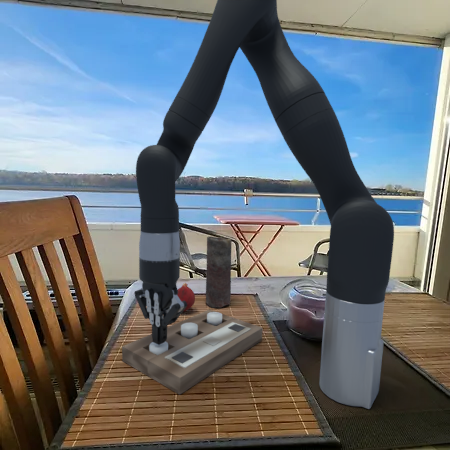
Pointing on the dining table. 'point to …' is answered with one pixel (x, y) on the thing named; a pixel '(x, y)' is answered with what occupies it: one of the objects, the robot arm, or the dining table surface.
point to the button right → (214, 318)
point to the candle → (218, 272)
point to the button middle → (189, 330)
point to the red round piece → (186, 296)
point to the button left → (158, 348)
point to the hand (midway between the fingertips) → (159, 342)
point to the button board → (192, 351)
